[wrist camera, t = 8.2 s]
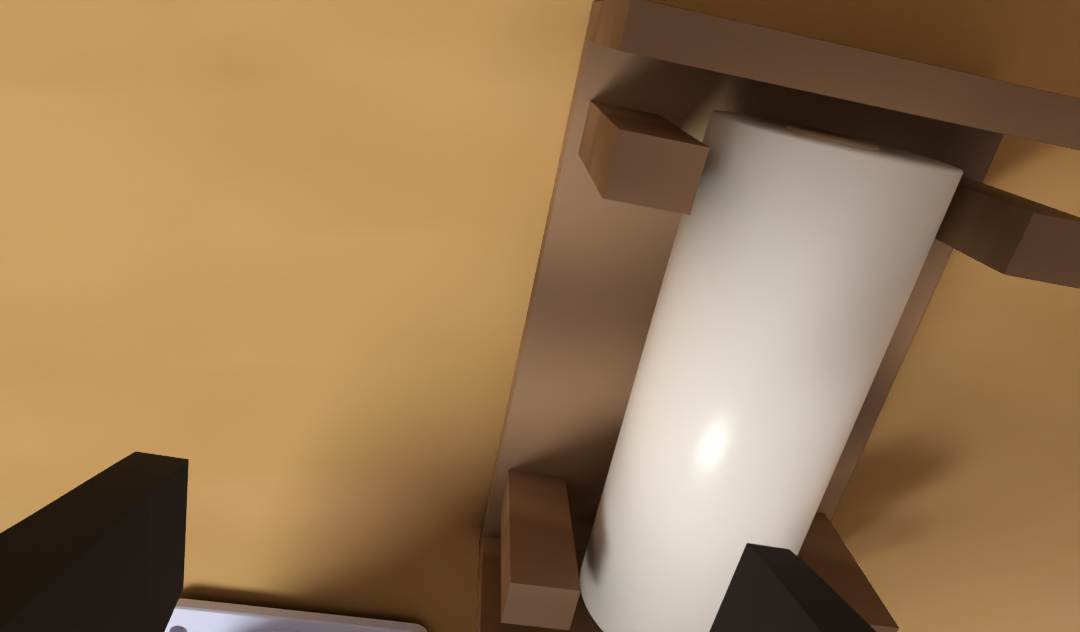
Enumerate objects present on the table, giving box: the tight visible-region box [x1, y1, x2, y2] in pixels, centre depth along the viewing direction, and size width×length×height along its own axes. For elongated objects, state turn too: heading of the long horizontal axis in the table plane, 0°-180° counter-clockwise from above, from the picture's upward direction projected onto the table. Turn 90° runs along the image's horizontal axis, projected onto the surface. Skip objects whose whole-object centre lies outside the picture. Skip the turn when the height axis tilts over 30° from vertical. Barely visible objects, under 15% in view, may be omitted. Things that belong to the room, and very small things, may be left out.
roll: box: [579, 110, 963, 632], centre depth 16 cm, size 12×5×5 cm, turn 169°
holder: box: [476, 0, 1080, 632], centre depth 17 cm, size 15×10×5 cm, turn 169°
